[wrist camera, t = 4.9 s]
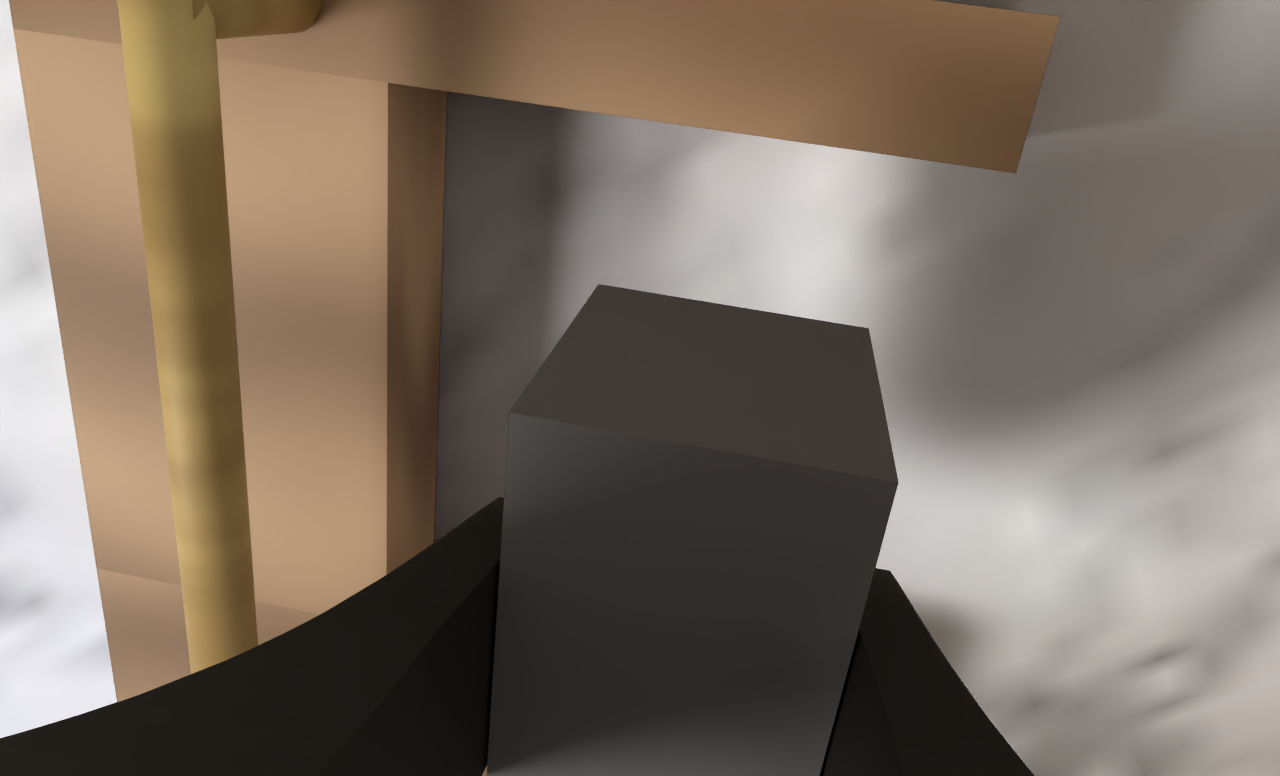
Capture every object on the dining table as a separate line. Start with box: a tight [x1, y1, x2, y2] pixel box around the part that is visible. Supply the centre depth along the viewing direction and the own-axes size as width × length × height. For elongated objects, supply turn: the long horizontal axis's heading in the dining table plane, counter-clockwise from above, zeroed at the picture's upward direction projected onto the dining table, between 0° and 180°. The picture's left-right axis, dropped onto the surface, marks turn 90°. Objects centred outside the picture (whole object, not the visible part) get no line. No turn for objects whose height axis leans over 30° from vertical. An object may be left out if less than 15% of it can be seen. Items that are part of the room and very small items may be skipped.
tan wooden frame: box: [9, 0, 1060, 776], centre depth 15 cm, size 16×15×6 cm
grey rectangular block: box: [487, 284, 898, 776], centre depth 11 cm, size 6×4×4 cm, turn 173°
